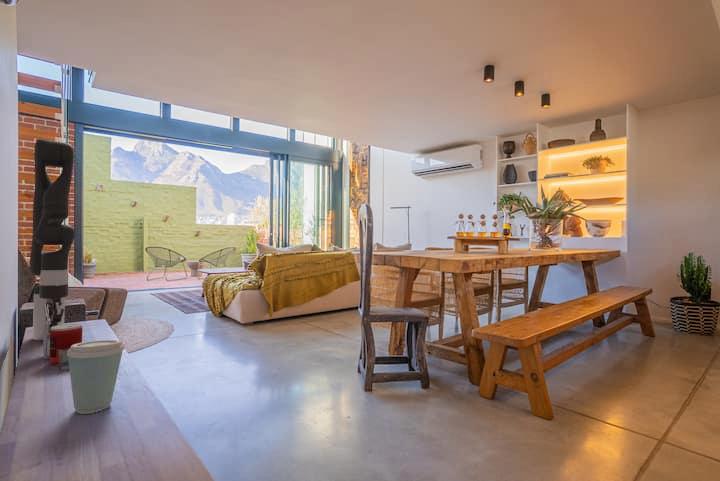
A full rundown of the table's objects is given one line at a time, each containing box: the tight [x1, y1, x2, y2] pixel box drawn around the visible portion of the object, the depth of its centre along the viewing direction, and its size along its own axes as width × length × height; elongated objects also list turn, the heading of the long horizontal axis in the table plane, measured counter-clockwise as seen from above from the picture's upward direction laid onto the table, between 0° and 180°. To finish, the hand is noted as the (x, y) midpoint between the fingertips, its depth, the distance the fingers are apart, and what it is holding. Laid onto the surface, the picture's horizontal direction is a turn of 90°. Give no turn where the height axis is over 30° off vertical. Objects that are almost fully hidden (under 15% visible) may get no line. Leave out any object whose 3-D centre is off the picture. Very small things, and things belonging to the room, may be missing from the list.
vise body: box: [58, 347, 70, 373], centre depth 111 cm, size 6×8×6 cm
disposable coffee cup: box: [67, 339, 125, 415], centre depth 84 cm, size 11×11×15 cm
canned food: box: [49, 322, 83, 366], centre depth 116 cm, size 8×8×11 cm
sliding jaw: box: [42, 333, 50, 360], centre depth 123 cm, size 9×7×8 cm
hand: (52, 334), depth 126 cm, fingers closed
